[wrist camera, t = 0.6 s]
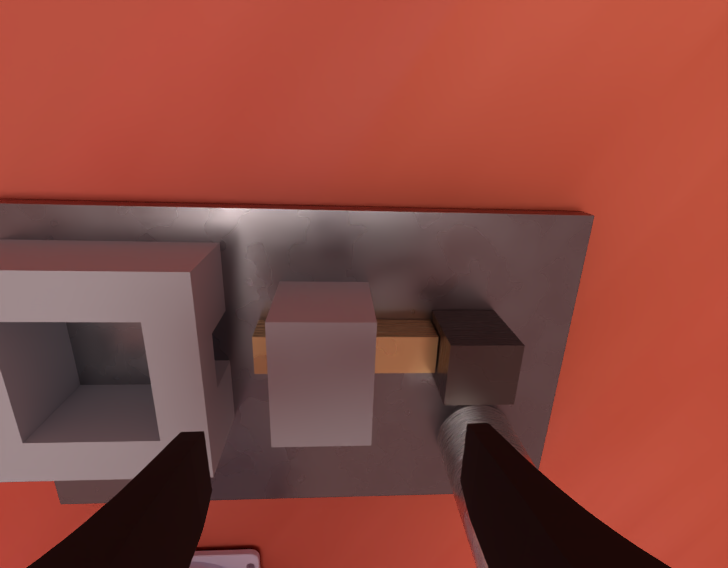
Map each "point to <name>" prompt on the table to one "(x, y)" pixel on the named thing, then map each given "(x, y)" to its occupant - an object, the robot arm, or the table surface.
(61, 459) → the socket
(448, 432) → the peg
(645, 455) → the table surface
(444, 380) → the pin
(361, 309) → the pin guide
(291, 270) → the base plate
